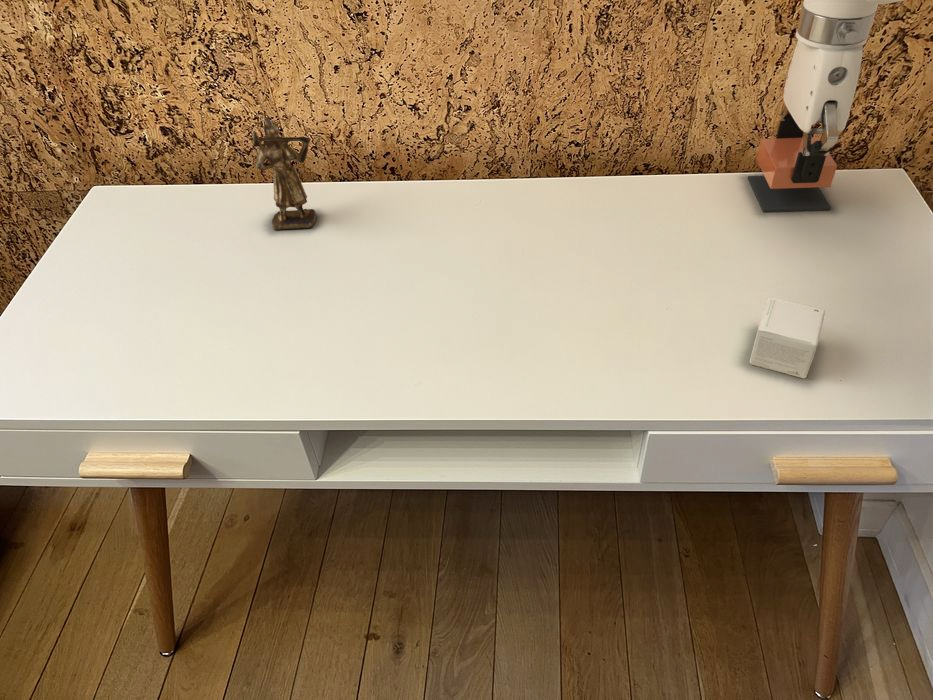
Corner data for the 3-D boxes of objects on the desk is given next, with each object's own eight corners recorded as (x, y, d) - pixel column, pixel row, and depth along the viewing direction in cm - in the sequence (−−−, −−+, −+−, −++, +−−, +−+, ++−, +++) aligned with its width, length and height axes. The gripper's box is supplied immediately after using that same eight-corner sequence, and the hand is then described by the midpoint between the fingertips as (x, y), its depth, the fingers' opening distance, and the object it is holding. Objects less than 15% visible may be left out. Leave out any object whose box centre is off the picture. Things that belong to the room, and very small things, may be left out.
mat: (830, 210, 94) (831, 207, 94) (762, 212, 94) (763, 209, 94) (810, 176, 100) (811, 173, 100) (747, 178, 101) (747, 175, 100)
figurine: (329, 212, 101) (306, 109, 90) (325, 228, 98) (300, 123, 87) (276, 215, 101) (247, 112, 91) (270, 231, 98) (240, 126, 88)
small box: (758, 330, 79) (768, 295, 75) (814, 345, 77) (828, 309, 73) (746, 364, 75) (757, 329, 72) (805, 381, 73) (819, 345, 70)
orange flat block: (830, 187, 92) (837, 165, 90) (770, 188, 93) (775, 167, 91) (812, 157, 98) (819, 136, 96) (755, 159, 98) (760, 138, 96)
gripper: (899, 54, 76) (847, 201, 88) (843, -5, 88) (804, 131, 100) (824, 57, 76) (783, 203, 88) (779, -2, 89) (748, 133, 101)
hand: (795, 164), depth 94 cm, fingers closed on orange flat block, 7 cm apart
